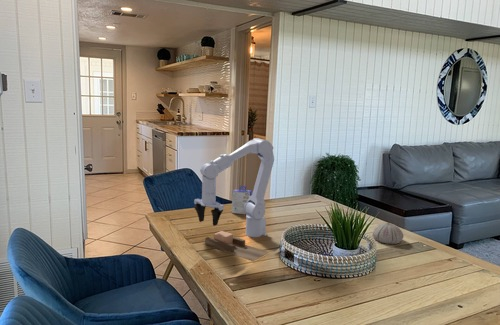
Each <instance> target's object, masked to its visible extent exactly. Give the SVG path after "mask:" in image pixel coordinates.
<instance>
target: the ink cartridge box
mask: <svg viewBox="0 0 500 325" xmlns="http://www.w3.org/2000/svg"><path fill="white" fill-rule="evenodd" d="M252 193H253V191H252V190H249V189H248V190H247V185H239V188H238V189H234V190H232V194H231V195H232V196H231V197H232V198H231V199H232V200H231V214H241V215H247V213H246V212H245V209H244V206H245V204H246V202H247V201H248V199H249V197H250V196H251V195H252Z"/></svg>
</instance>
